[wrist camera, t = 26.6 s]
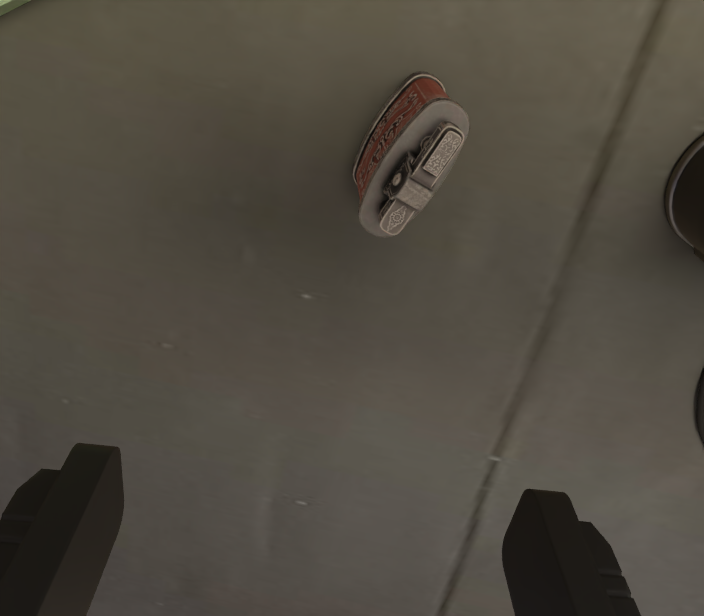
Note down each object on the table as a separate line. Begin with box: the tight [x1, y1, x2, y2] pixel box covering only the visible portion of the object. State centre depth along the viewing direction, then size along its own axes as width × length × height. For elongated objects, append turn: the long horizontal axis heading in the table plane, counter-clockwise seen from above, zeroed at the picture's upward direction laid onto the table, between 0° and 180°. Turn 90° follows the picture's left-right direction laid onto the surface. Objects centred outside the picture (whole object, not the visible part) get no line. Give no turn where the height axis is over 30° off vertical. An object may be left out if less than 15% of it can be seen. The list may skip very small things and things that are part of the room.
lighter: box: [352, 72, 470, 237], centre depth 33 cm, size 8×3×10 cm, turn 149°
